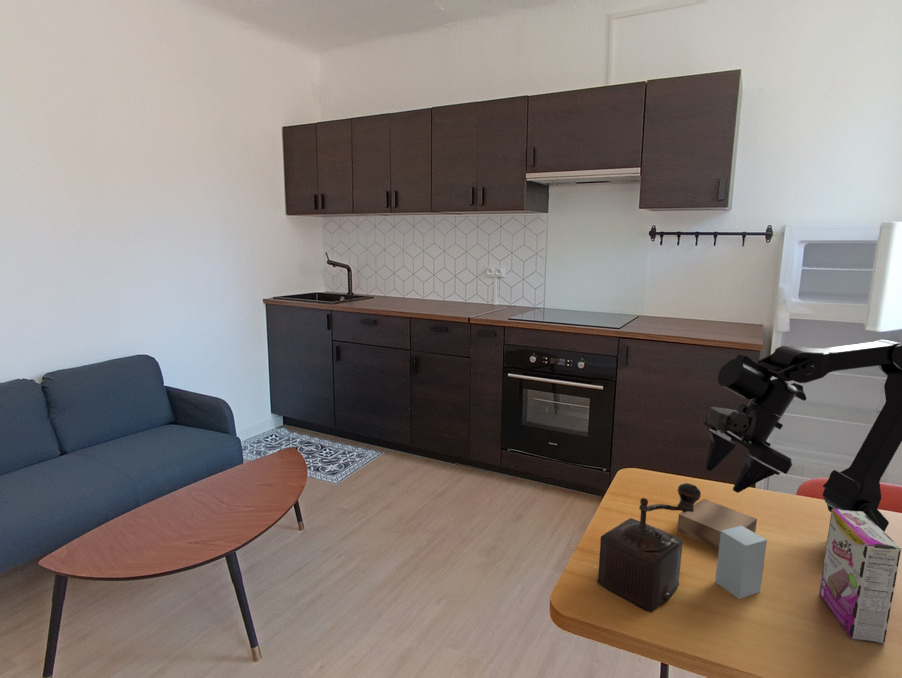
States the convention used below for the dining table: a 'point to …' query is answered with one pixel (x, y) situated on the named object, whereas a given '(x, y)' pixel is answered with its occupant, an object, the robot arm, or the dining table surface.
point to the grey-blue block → (740, 561)
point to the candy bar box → (859, 575)
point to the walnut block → (712, 522)
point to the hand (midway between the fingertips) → (720, 480)
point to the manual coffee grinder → (644, 556)
